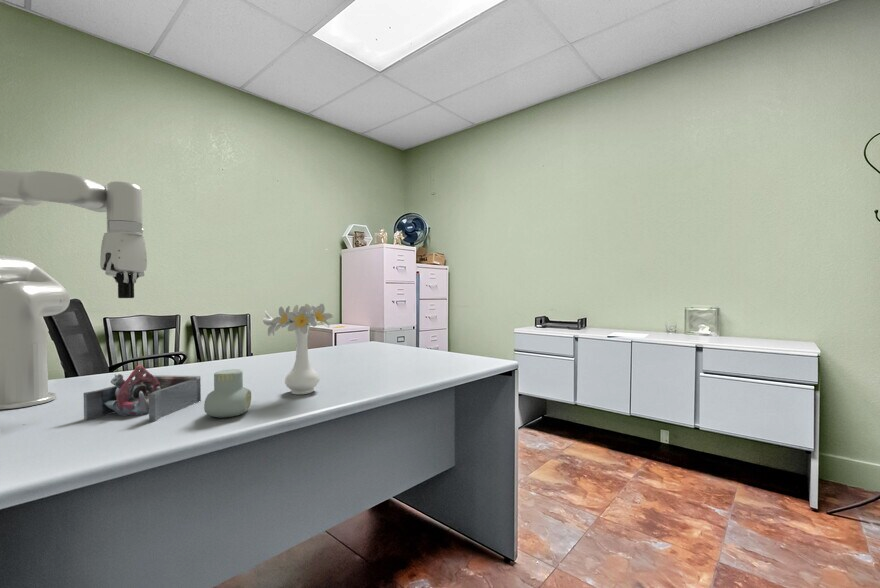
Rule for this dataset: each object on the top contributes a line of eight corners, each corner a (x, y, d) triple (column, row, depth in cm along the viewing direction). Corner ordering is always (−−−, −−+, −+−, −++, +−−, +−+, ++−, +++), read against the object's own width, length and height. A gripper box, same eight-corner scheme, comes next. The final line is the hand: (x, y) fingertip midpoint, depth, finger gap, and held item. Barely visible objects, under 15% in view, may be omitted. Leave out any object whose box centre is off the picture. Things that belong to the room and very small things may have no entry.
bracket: (82, 420, 90) (81, 390, 90) (142, 399, 106) (142, 375, 106) (153, 421, 88) (153, 391, 88) (204, 401, 104) (203, 375, 104)
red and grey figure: (143, 408, 90) (114, 365, 91) (110, 436, 91) (82, 393, 92) (183, 395, 101) (157, 357, 102) (153, 420, 102) (128, 382, 104)
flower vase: (267, 389, 116) (266, 303, 116) (332, 384, 121) (331, 302, 121) (261, 401, 104) (259, 305, 103) (334, 395, 109) (333, 303, 109)
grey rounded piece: (216, 409, 98) (215, 368, 97) (253, 406, 100) (252, 366, 100) (201, 423, 87) (200, 377, 87) (243, 420, 89) (242, 375, 89)
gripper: (135, 233, 115) (136, 297, 115) (85, 225, 100) (86, 298, 100) (160, 233, 114) (161, 297, 114) (112, 224, 99) (113, 298, 100)
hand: (126, 297), depth 107 cm, fingers closed
